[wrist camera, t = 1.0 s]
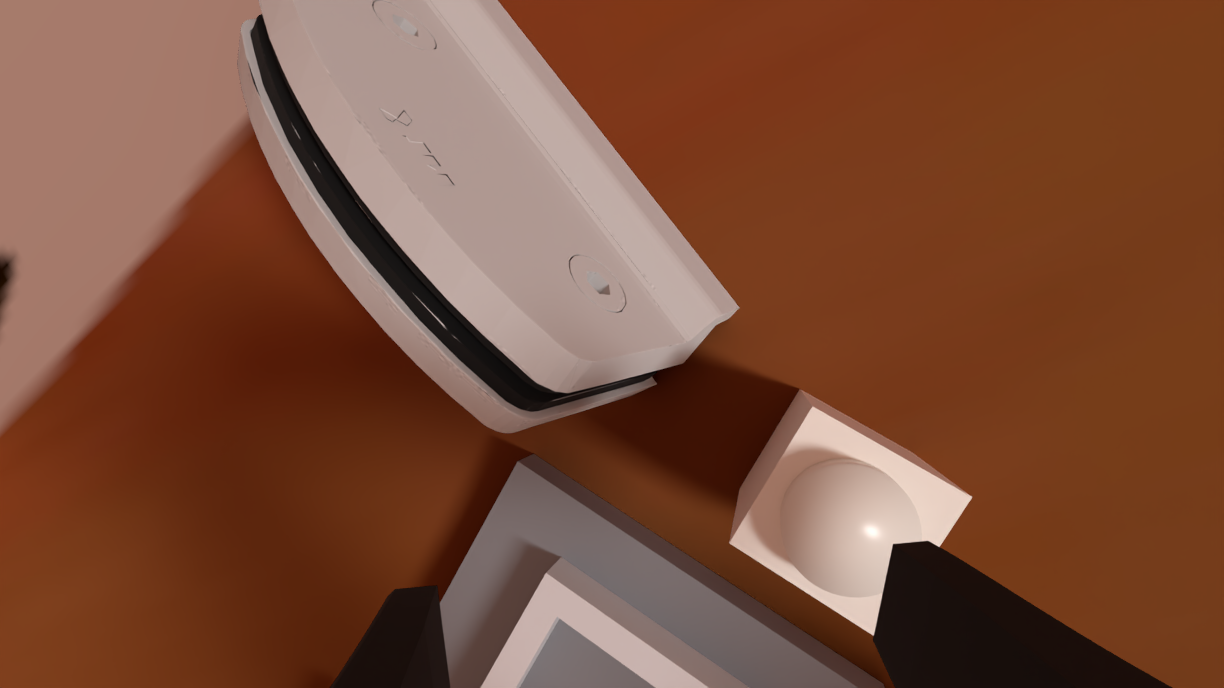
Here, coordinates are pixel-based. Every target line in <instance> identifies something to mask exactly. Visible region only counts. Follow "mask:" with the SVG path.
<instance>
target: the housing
mask: <svg viewBox="0 0 1224 688" xmlns="http://www.w3.org/2000/svg"><path fill="white" fill-rule="evenodd" d="M440 611H441V618H442V626H443V634H444V641H445V649H446V657H447V664H448V672H449V680H450V688H885V687H884V684H883V683H881V682H880V681H878V680H877V679H875V678H874V677H872V676H871V675H869V674H868V673H866V672H865V671H863V670H862V669H860V668H859V667H857V666H856V665H854V664H853V663H851V662H849V661H848V660H846V659H845V658H843V657H842V656H840V655H839V654H837V653H836V652H834V651H833V650H831V649H830V648H828V647H827V646H825V645H824V644H822V643H821V642H819V641H818V640H816V639H814V638H813V637H811V636H810V635H808V634H807V633H805V632H804V631H802V630H801V629H799V628H798V627H796V626H795V625H793V624H792V623H790V622H789V621H787V620H786V619H784V618H783V617H781V616H779V615H778V614H776V613H775V612H773V611H772V610H770V609H769V608H767V607H766V606H764V605H763V604H761V603H760V602H758V601H757V600H755V599H754V598H752V597H751V596H749V595H748V594H746V593H745V592H743V591H741V590H740V589H738V588H737V587H735V586H734V585H732V584H731V583H729V582H728V581H726V580H725V579H723V578H722V577H720V576H719V575H717V574H716V573H714V572H713V571H711V570H710V569H708V568H706V567H705V566H703V565H702V564H700V563H699V562H697V561H696V560H694V559H693V558H691V557H690V556H688V555H687V554H685V553H684V552H682V551H681V550H679V549H678V548H676V547H675V546H673V545H671V544H670V543H668V542H667V541H665V540H664V539H662V538H661V537H659V536H658V535H656V534H655V533H653V532H652V531H650V530H649V529H647V528H646V527H644V526H643V525H641V524H640V523H638V522H637V521H635V520H633V519H632V518H630V517H629V516H627V515H626V514H624V513H623V512H621V511H620V510H618V509H617V508H615V507H614V506H612V505H611V504H609V503H608V502H606V501H605V500H603V499H602V498H600V497H598V496H597V495H595V494H594V493H592V492H591V491H589V490H588V489H586V488H585V487H583V486H582V485H580V484H579V483H577V482H576V481H574V480H573V479H571V478H570V477H568V476H567V475H565V474H563V473H562V472H560V471H559V470H557V469H556V468H554V467H553V466H551V465H550V464H548V463H547V462H545V461H544V460H542V459H541V458H539V457H538V456H536V455H535V454H532V455H530V456H528V457H526V458H524V459H521V460H519V461H518V462H517V464H516V465H515V467H514V469H513V471H512V473H511V474H510V476H509V478H508V480H507V482H506V484H505V485H504V487H503V489H502V491H501V493H500V495H499V496H498V498H497V500H496V502H495V504H494V506H493V507H492V509H491V511H490V513H489V515H488V516H487V518H486V520H485V522H484V524H483V526H482V527H481V529H480V531H479V533H478V535H477V537H476V538H475V540H474V542H473V544H472V546H471V548H470V549H469V551H468V553H467V555H466V557H465V558H464V560H463V562H462V564H461V566H460V568H459V569H458V571H457V573H456V575H455V577H454V579H453V580H452V582H451V584H450V586H449V588H448V589H447V591H446V593H445V595H444V597H443V599H442V600H441V602H440Z"/></svg>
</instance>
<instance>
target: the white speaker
mask: <svg viewBox="0 0 1224 688" xmlns="http://www.w3.org/2000/svg"><path fill="white" fill-rule="evenodd" d="M259 4H260V8H261V11H262V14H261V15H259V16H258V17H257V19H250V20H246V21H245V22H244V23H243V24H242V26H241V30H240V40H239V50H238V61H237V65H238V71H239V77H240V84H241V89H242V93H243V96H244V100H245V103H246V107H247V110H248V114H249V117H250V121H251V123H252V126H253V128H254V131H255V134H256V136H257V139H258V141H259V144H260V146H261V148H262V151H263V153H264V155H265V157H266V159H267V161H268V163H269V166H270V168H271V170H272V172H273V174H274V176H275V178H276V180H277V182H278V184H279V185H280V187H281V189H282V191H283V192H284V194H285V196H286V198H287V200H288V201H289V203H290V205H291V207H292V208H293V210H294V212H295V213H296V215H297V216H298V218H299V220H300V221H301V223H302V224H303V226H304V228H305V229H306V231H307V232H308V234H309V236H310V237H311V238H312V240H313V241H314V243H315V244H316V245H317V247H318V248H319V250H320V251H321V252H322V254H323V255H324V257H325V258H326V259H327V261H328V262H329V264H330V265H331V266H332V268H333V269H334V271H335V272H336V273H337V275H338V276H339V277H340V278H341V280H342V281H343V282H344V283H345V285H346V286H347V287H348V288H349V290H350V291H351V292H352V293H353V294H354V296H355V297H356V298H357V299H358V301H359V302H360V303H361V304H362V305H363V307H364V308H365V309H366V310H367V311H368V312H369V314H370V315H371V316H372V317H373V318H374V319H375V321H376V322H377V323H378V324H379V325H380V326H381V328H382V329H383V330H384V331H385V332H386V333H387V334H388V335H389V336H390V337H391V338H392V339H393V340H394V342H395V343H396V344H397V345H398V346H399V347H400V348H401V349H402V350H403V351H404V352H405V353H406V354H407V355H408V356H409V357H410V358H411V359H412V360H413V361H414V362H415V363H416V365H418V366H419V367H420V368H421V369H422V370H423V371H424V372H425V373H426V374H427V375H428V376H429V377H430V378H431V379H432V380H434V381H435V382H436V383H437V384H438V385H439V386H440V387H441V388H442V389H443V390H444V391H445V392H446V393H447V394H448V395H450V396H451V397H452V398H453V399H454V400H455V401H457V402H458V403H459V404H460V405H461V406H462V407H464V408H465V409H466V410H467V411H468V412H470V413H471V414H472V415H473V416H474V417H475V418H477V419H478V420H479V421H480V422H481V423H483V424H484V425H485V426H487V427H489V428H491V429H493V430H495V431H498V432H502V433H514V432H517V431H520V430H524V429H527V428H530V427H533V426H536V425H540V424H543V423H546V422H549V421H552V420H556V419H559V418H562V417H565V416H569V415H572V414H575V413H578V412H581V411H585V410H588V409H591V408H594V407H597V406H601V405H604V404H607V403H610V402H613V401H617V400H620V399H623V398H626V397H629V396H632V395H634V394H636V393H639V392H641V391H643V390H645V389H648V388H650V387H652V386H654V385H656V384H657V383H656V382H655V380H654V379H653V377H652V376H653V375H654V374H656V373H657V372H656V371H657V370H660V369H664V368H668V367H672V366H675V365H679V364H683V363H684V362H685V361H686V360H687V358H688V357H689V356H690V355H691V354H692V353H693V351H694V350H695V349H696V348H697V347H698V345H699V344H700V343H701V342H702V341H703V340H704V338H705V337H706V336H707V335H708V334H709V332H710V331H711V330H712V329H713V328H714V327H715V326H716V325H717V324H719V323H721V322H723V321H725V320H727V319H729V318H730V317H731V316H732V315H733V314H734V313H735V312H736V311H737V310H738V308H739V306H738V305H737V304H736V303H735V301H734V300H733V299H732V297H731V296H730V295H729V294H728V292H727V291H726V290H725V289H724V287H723V286H722V285H721V284H720V282H719V281H718V280H717V278H716V277H715V276H714V275H713V273H712V272H711V271H710V270H709V268H708V267H707V266H706V264H705V263H704V262H703V261H702V259H701V258H700V257H699V256H698V254H697V253H696V252H695V251H694V249H693V248H692V247H691V245H690V244H689V243H688V242H687V240H686V239H685V238H684V237H683V235H682V234H681V233H680V231H679V230H678V229H677V228H676V226H675V225H674V224H673V223H672V221H671V220H670V219H669V218H668V216H667V215H666V214H665V212H664V211H663V210H662V209H661V207H660V206H659V205H658V204H657V202H656V201H655V200H654V198H653V197H652V196H651V195H650V193H649V192H648V191H647V190H646V188H645V187H644V186H643V185H642V183H641V182H640V181H639V179H638V178H637V177H636V176H635V174H634V173H633V172H632V171H631V169H630V168H629V167H628V165H627V164H626V163H625V162H624V160H623V159H622V158H621V157H620V155H619V154H618V153H617V152H616V150H615V149H614V148H613V146H612V145H611V144H610V143H609V141H608V140H607V139H606V138H605V136H604V135H603V134H602V132H601V131H600V130H599V129H598V127H597V126H596V125H595V124H594V122H593V121H592V120H591V119H590V117H589V116H588V115H587V113H586V112H585V111H584V110H583V108H582V107H581V106H580V105H579V103H578V102H577V101H576V99H575V98H574V97H573V96H572V94H571V93H570V92H569V91H568V89H567V88H566V87H565V85H564V84H563V83H562V82H561V80H560V79H559V78H558V77H557V75H556V74H555V73H554V72H553V70H552V69H551V68H550V66H549V65H548V64H547V63H546V61H545V60H544V59H543V58H542V56H541V55H540V54H539V52H538V51H537V50H536V49H535V47H534V46H533V45H532V44H531V42H530V41H529V40H528V39H527V37H526V36H525V35H524V33H523V32H522V31H521V30H520V28H519V27H518V26H517V25H516V23H515V22H514V21H513V19H512V18H511V17H510V16H509V14H508V13H507V12H506V11H505V9H504V8H503V7H502V6H501V4H500V3H499V2H498V0H259Z"/></svg>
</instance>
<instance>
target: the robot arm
mask: <svg viewBox="0 0 1224 688" xmlns="http://www.w3.org/2000/svg"><path fill="white" fill-rule="evenodd" d="M873 641H874V643H875V645H876V647H877V650H878V652H879V654H880V656H881V658H882V661H883V663H884V665H885V667H886V669H887V671H888V674H889V676H890V678H891V680H892V682H893V684H894V686H895V688H1172V687H1170V686H1168V685H1166V684H1165V683H1163V682H1161V681H1159V680H1158V679H1156V678H1154V677H1152V676H1151V675H1149V674H1147V673H1145V672H1144V671H1142V670H1140V669H1138V668H1137V667H1135V666H1133V665H1131V664H1130V663H1128V662H1126V661H1124V660H1123V659H1121V658H1119V657H1118V656H1116V655H1114V654H1113V653H1111V652H1109V651H1107V650H1106V649H1104V648H1102V647H1101V646H1099V645H1097V644H1096V643H1094V642H1092V641H1091V640H1089V639H1087V638H1086V637H1084V636H1082V635H1081V634H1079V633H1078V632H1076V631H1074V630H1073V629H1071V628H1069V627H1068V626H1066V625H1064V624H1063V623H1061V622H1060V621H1058V620H1056V619H1055V618H1053V617H1052V616H1050V615H1048V614H1047V613H1045V612H1043V611H1042V610H1040V609H1039V608H1037V607H1035V606H1034V605H1032V604H1031V603H1029V602H1027V601H1026V600H1024V599H1023V598H1021V597H1020V596H1018V595H1016V594H1015V593H1013V592H1012V591H1010V590H1008V589H1007V588H1005V587H1004V586H1002V585H1000V584H999V583H997V582H996V581H994V580H993V579H991V578H989V577H988V576H986V575H985V574H983V573H981V572H980V571H978V570H977V569H975V568H973V567H972V566H970V565H969V564H967V563H965V562H964V561H962V560H960V559H959V558H957V557H955V556H954V555H952V554H950V553H949V552H947V551H945V550H944V549H942V548H940V547H938V546H937V545H935V544H933V543H931V542H929V541H920V542H909V543H898V544H893V546H892V551H891V556H890V561H889V565H888V570H887V575H886V580H885V584H884V589H883V594H882V599H881V604H880V608H879V613H878V618H877V623H876V627H875V632H874V637H873ZM330 688H450V680H449V672H448V664H447V657H446V649H445V641H444V634H443V626H442V618H441V611H440V603H439V595H438V587H437V585H436V586H425V587H414V588H403V589H395V590H394V591H393V592H392V593H391V594H390V595H389V596H388V597H387V598H386V600H385V602H384V604H383V605H382V607H381V609H380V610H379V612H378V614H377V615H376V617H375V619H374V620H373V622H372V624H371V625H370V627H369V628H368V630H367V632H366V633H365V635H364V636H363V638H362V640H361V641H360V643H359V644H358V646H357V648H356V649H355V651H354V652H353V654H352V655H351V657H350V658H349V660H348V661H347V663H346V664H345V666H344V668H343V669H342V671H341V672H340V674H339V675H338V677H337V678H336V680H335V681H334V682H333V684H332V685H331V687H330Z"/></svg>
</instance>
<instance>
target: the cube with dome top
mask: <svg viewBox="0 0 1224 688" xmlns="http://www.w3.org/2000/svg"><path fill="white" fill-rule="evenodd" d="M971 498H972V497H971V496H970V495H969V494H967V493H966V492H965V491H963V490H962V489H961V488H959V487H958V486H957V485H955V484H954V483H953V482H951V481H950V480H949V479H947V478H946V477H945V476H943V475H942V474H940V473H939V472H938V471H936V470H935V469H934V468H932V467H931V466H930V465H928V464H927V463H926V462H924V461H923V460H922V459H920V458H919V457H918V456H916V455H915V454H914V453H912V452H910V451H909V450H907V449H905V448H903V447H902V446H900V445H898V444H896V443H895V442H893V441H891V440H889V439H887V438H886V437H884V436H882V435H880V434H879V433H877V432H875V431H873V430H872V429H870V428H868V427H866V426H864V425H863V424H861V423H859V422H857V421H856V420H854V419H852V418H850V417H849V416H847V415H845V414H843V413H841V412H840V411H838V410H836V409H834V408H833V407H831V406H829V405H827V404H825V403H824V402H822V401H820V400H818V399H817V398H815V397H813V396H811V395H810V394H808V393H806V392H804V391H802V390H801V389H799V391H798V393H797V394H796V396H795V398H794V399H793V401H792V403H791V404H790V406H789V408H788V409H787V411H786V413H785V414H784V416H783V418H782V419H781V421H780V423H779V424H778V426H777V427H776V429H775V431H774V432H773V434H772V436H771V437H770V439H769V441H768V442H767V444H766V446H765V447H764V449H763V451H762V452H761V454H760V456H759V457H758V459H757V461H756V462H755V464H754V466H753V467H752V469H751V471H750V472H749V474H748V476H747V477H746V479H745V480H744V482H743V484H742V485H741V487H740V489H739V494H738V500H737V505H736V510H735V515H734V520H733V526H732V531H731V536H730V541H729V543H730V544H731V545H733V546H735V547H736V548H738V549H739V550H741V551H742V552H744V553H745V554H747V555H749V556H750V557H752V558H753V559H755V560H756V561H758V562H759V563H761V564H763V565H764V566H766V567H767V568H769V569H770V570H772V571H773V572H775V573H777V574H778V575H780V576H781V577H783V578H784V579H786V580H787V581H789V582H791V583H792V584H794V585H795V586H797V587H798V588H800V589H802V590H803V591H805V592H806V593H808V594H809V595H811V596H812V597H814V598H816V599H817V600H819V601H820V602H822V603H823V604H825V605H826V606H828V607H830V608H831V609H833V610H834V611H836V612H837V613H839V614H840V615H842V616H844V617H845V618H847V619H848V620H850V621H851V622H853V623H854V624H856V625H858V626H859V627H861V628H862V629H864V630H865V631H867V632H868V633H870V634H872V635H873V636H874V632H875V627H876V623H877V618H878V613H879V608H880V604H881V599H882V594H883V589H884V584H885V580H886V575H887V570H888V565H889V561H890V556H891V551H892V546H893V544H898V543H909V542H920V541H929V542H931V543H933V544H935V545H937V546H938V547H940V545H941V544H942V542H943V541H944V539H945V538H946V536H947V535H948V533H949V532H950V530H951V529H952V527H953V526H954V524H955V522H956V521H957V519H958V518H959V516H960V515H961V513H962V512H963V510H964V509H965V507H966V506H967V504H968V503H969V501H970V500H971Z"/></svg>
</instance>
